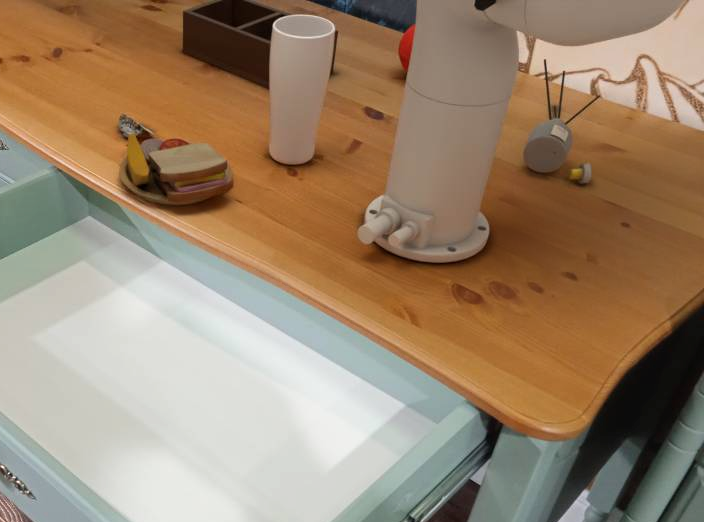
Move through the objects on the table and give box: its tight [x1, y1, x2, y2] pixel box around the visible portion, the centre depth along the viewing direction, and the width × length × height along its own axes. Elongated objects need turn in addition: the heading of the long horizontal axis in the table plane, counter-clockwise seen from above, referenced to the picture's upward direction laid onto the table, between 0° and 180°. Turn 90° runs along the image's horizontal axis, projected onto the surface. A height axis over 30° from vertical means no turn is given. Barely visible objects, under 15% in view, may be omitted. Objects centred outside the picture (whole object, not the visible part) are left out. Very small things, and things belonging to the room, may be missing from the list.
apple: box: [397, 23, 415, 74], centre depth 114 cm, size 8×8×7 cm
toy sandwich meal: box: [118, 134, 234, 206], centre depth 94 cm, size 12×14×5 cm
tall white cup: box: [268, 14, 336, 166], centre depth 95 cm, size 7×7×15 cm
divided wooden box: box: [182, 0, 339, 89], centre depth 118 cm, size 10×19×6 cm, turn 44°
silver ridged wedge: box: [118, 113, 156, 138], centre depth 104 cm, size 6×2×3 cm
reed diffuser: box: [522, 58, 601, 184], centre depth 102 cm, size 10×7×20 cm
